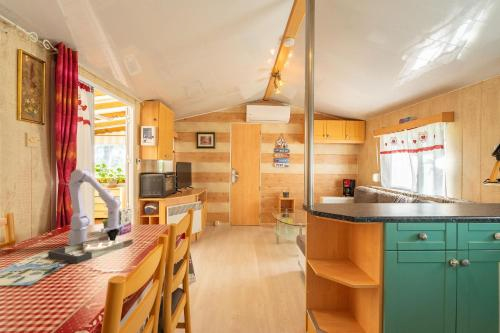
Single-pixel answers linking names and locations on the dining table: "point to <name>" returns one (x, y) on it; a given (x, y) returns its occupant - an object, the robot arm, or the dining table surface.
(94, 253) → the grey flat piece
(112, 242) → the white brass knuckles
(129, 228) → the candy bar box
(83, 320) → the dining table surface
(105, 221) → the plant pot
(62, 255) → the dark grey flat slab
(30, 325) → the dining table surface
